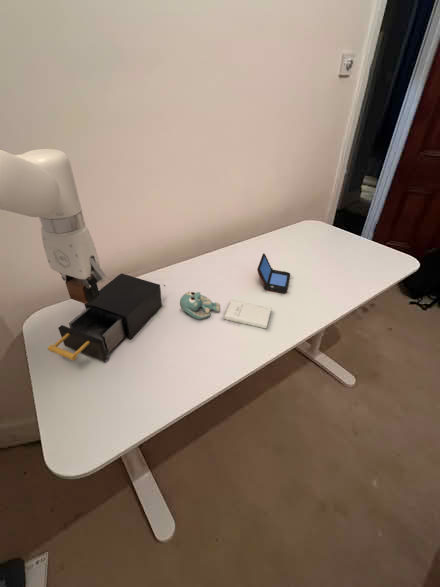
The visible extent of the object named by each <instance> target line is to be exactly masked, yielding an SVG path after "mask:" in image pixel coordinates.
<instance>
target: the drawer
mask: <svg viewBox="0 0 440 587" xmlns="http://www.w3.org/2000/svg"><path fill="white" fill-rule="evenodd" d="M68 326H69V327H68ZM68 326H66V325H63V324H61V325H60V326H58V327H57V329H58V332H59V334H60V337H61V338H60V339H58V340H57V341H56V342H55V343H54V344H50V345H49V346H48V347H47V351H48V352H51V353H54V354H57V355H59V356H61V357H64V358H66V359H68V360H71V361H75V360H76V359H77V357H78V355H79V354H80V353H81V354H84V355H86V356H89V357H91V358H93V359H96V360H98V361H101V362H103V363H105V362H106V361H107V360H108V359H109V358H108V355H107V354H109V353H111V352H112V351H113V349H115V347H116V346H118V345H119V343H120V342H121V341H122V340H123V339H125V336H126V335H127V334H128V333H127V328H126V323H125V318H122V317H119V316H117V315H114V314H111V313H108V312H105V311H102V310H99V309H96V308H93V307H91V306H89V307H88V308H87V309H86V308H84V309H83V311H82V312H80V313H79V314H78V315H76V316H75V317H73V319H71V320H70V321H69V322H68ZM62 343H63V345H64V347H66V348H69V349H71V350H74V351H75V352H74V353H73V352H71V351H68V350H66V349H64V348H62V347H60V345H61V344H62Z"/></svg>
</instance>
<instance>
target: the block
mask: <svg viewBox="0 0 440 587" xmlns="http://www.w3.org/2000/svg"><path fill="white" fill-rule="evenodd" d="M88 279H89V281H90V280H91V279H92V278H91V276H89V277H88ZM65 282H66V281H65ZM65 287H66V289H67V293H68V295H69V298H70V300H73V301H76V302H77V303H78V302H79V303H82V304H84V305H85V304H87V303H88V300H87V297H86V294H85V290H84V288H85V287H86V286H85V284H84V282H83V280H82V279H78V278H75V277H74V278H72V279H71V280H69V281H68V282H66V283H65Z"/></svg>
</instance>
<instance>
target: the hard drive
mask: <svg viewBox="0 0 440 587" xmlns="http://www.w3.org/2000/svg"><path fill="white" fill-rule="evenodd" d="M271 313H272V308H271V307H267V306H262V305H257V304H252V303H247V302H242V301H238V300H230V303H229V305H228V306H227V310H226V312H225V314H224V320H225V321H227V320H228V321H230V322H235V323H240V324H244V325H248V326H252V327H257V328H260V329H265V330H266V329H267V328H268V324H269V320H270V316H271Z"/></svg>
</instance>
